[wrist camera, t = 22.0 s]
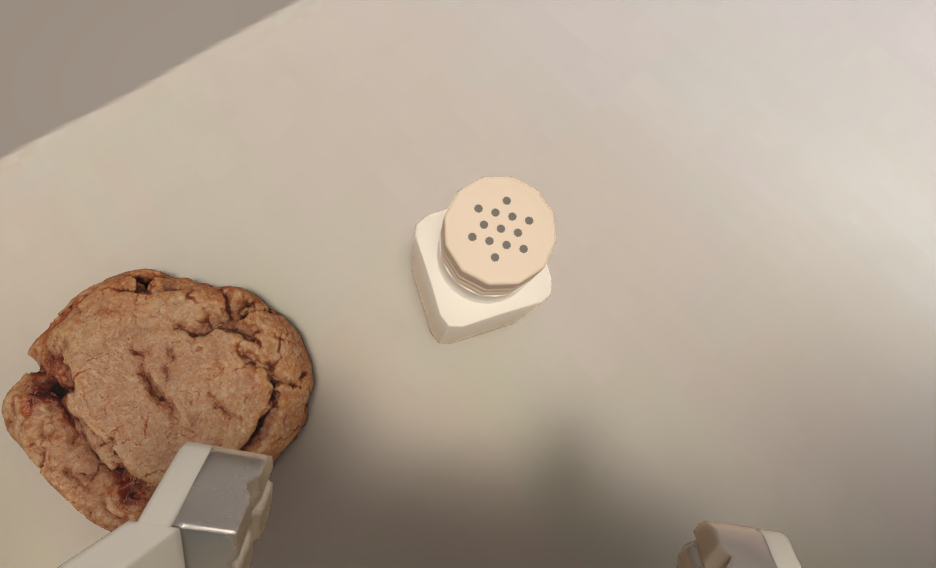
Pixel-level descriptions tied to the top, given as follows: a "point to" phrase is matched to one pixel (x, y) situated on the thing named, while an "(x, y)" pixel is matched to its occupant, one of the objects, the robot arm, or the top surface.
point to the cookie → (154, 387)
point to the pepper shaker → (484, 258)
